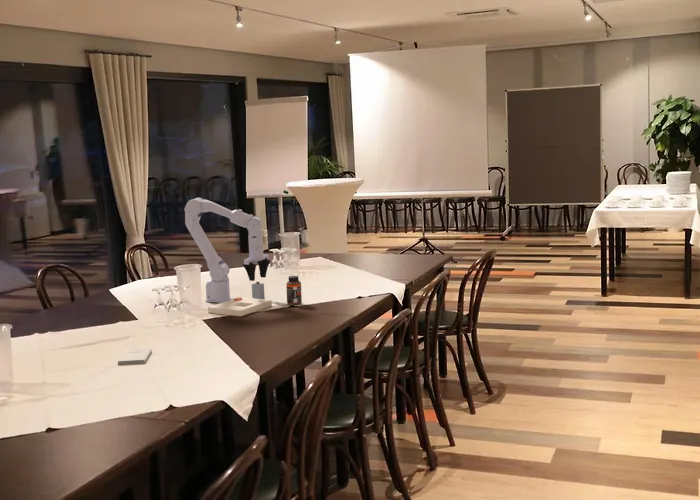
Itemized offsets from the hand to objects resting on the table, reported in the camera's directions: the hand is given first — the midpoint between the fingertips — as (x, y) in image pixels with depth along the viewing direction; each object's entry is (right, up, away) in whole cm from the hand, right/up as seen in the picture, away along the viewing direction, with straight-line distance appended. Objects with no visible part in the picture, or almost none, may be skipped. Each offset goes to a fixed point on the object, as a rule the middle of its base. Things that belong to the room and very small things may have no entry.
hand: (257, 279), depth 320 cm
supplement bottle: (+16, -10, -8) cm, 20 cm away
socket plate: (-5, -11, -14) cm, 19 cm away
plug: (0, -9, +1) cm, 9 cm away
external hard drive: (-29, -23, -78) cm, 86 cm away
